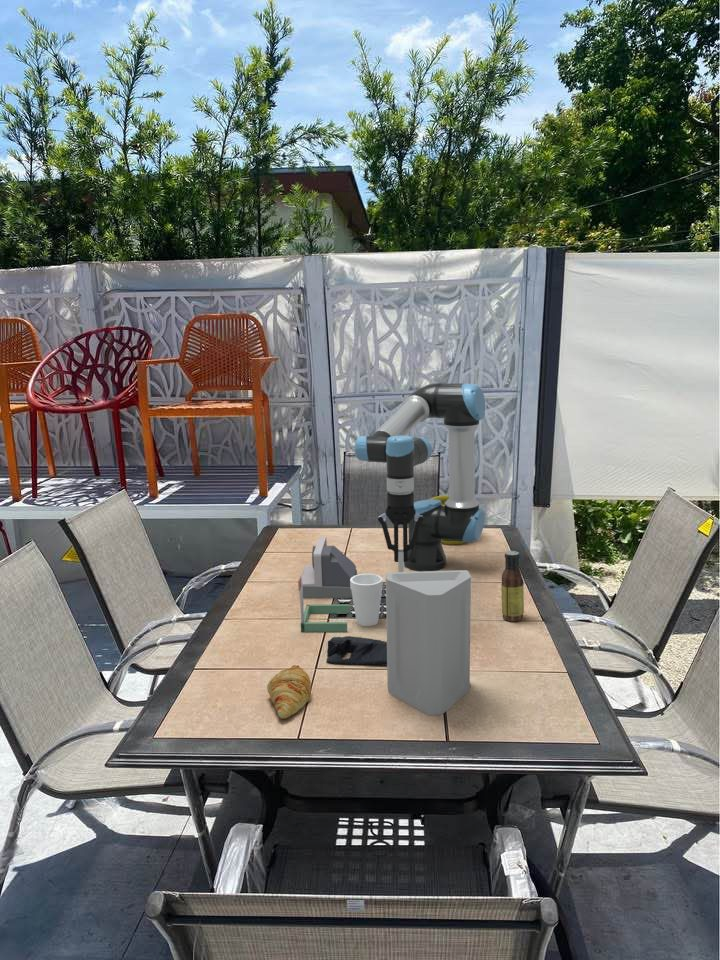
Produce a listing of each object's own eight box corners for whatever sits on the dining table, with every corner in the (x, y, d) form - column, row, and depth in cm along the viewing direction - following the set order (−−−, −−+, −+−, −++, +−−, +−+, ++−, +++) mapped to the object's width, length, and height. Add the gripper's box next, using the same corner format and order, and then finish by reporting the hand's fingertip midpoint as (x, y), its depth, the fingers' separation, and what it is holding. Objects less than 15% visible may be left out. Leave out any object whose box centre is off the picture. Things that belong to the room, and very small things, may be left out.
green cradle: (349, 612, 211) (348, 559, 208) (346, 637, 194) (344, 580, 191) (306, 612, 212) (304, 560, 209) (299, 637, 195) (296, 581, 191)
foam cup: (383, 628, 200) (382, 584, 197) (350, 628, 200) (349, 585, 197) (383, 614, 209) (382, 573, 206) (352, 615, 209) (350, 573, 206)
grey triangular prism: (391, 716, 154) (389, 596, 148) (387, 683, 169) (385, 572, 163) (478, 713, 155) (479, 593, 149) (466, 680, 169) (467, 570, 163)
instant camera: (308, 575, 244) (306, 534, 241) (366, 578, 240) (366, 536, 237) (290, 598, 224) (288, 553, 221) (353, 601, 220) (352, 556, 217)
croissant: (297, 737, 154) (313, 708, 152) (255, 718, 153) (271, 688, 151) (307, 686, 174) (321, 660, 172) (270, 669, 173) (284, 643, 172)
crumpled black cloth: (405, 673, 174) (405, 656, 173) (321, 665, 180) (320, 647, 179) (416, 646, 189) (416, 630, 188) (338, 639, 194) (337, 623, 193)
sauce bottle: (527, 617, 204) (529, 552, 200) (516, 624, 200) (518, 557, 196) (508, 612, 209) (509, 548, 204) (496, 618, 204) (497, 553, 200)
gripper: (376, 495, 192) (377, 577, 197) (424, 494, 192) (424, 576, 197) (377, 489, 200) (378, 568, 204) (423, 488, 199) (423, 568, 204)
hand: (401, 572), depth 200 cm, fingers closed
